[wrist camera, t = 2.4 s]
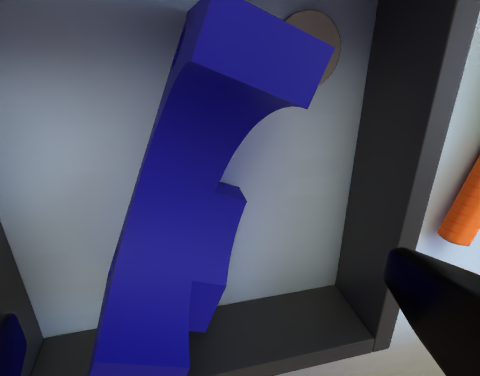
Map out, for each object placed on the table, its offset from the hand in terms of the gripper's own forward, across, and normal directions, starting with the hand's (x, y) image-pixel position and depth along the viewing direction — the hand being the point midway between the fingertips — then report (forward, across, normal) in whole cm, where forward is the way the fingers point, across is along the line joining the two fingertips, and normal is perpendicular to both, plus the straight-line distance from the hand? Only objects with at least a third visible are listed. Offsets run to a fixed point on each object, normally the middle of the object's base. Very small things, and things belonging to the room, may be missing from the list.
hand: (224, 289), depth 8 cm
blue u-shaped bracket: (+8, 0, 0) cm, 8 cm away
